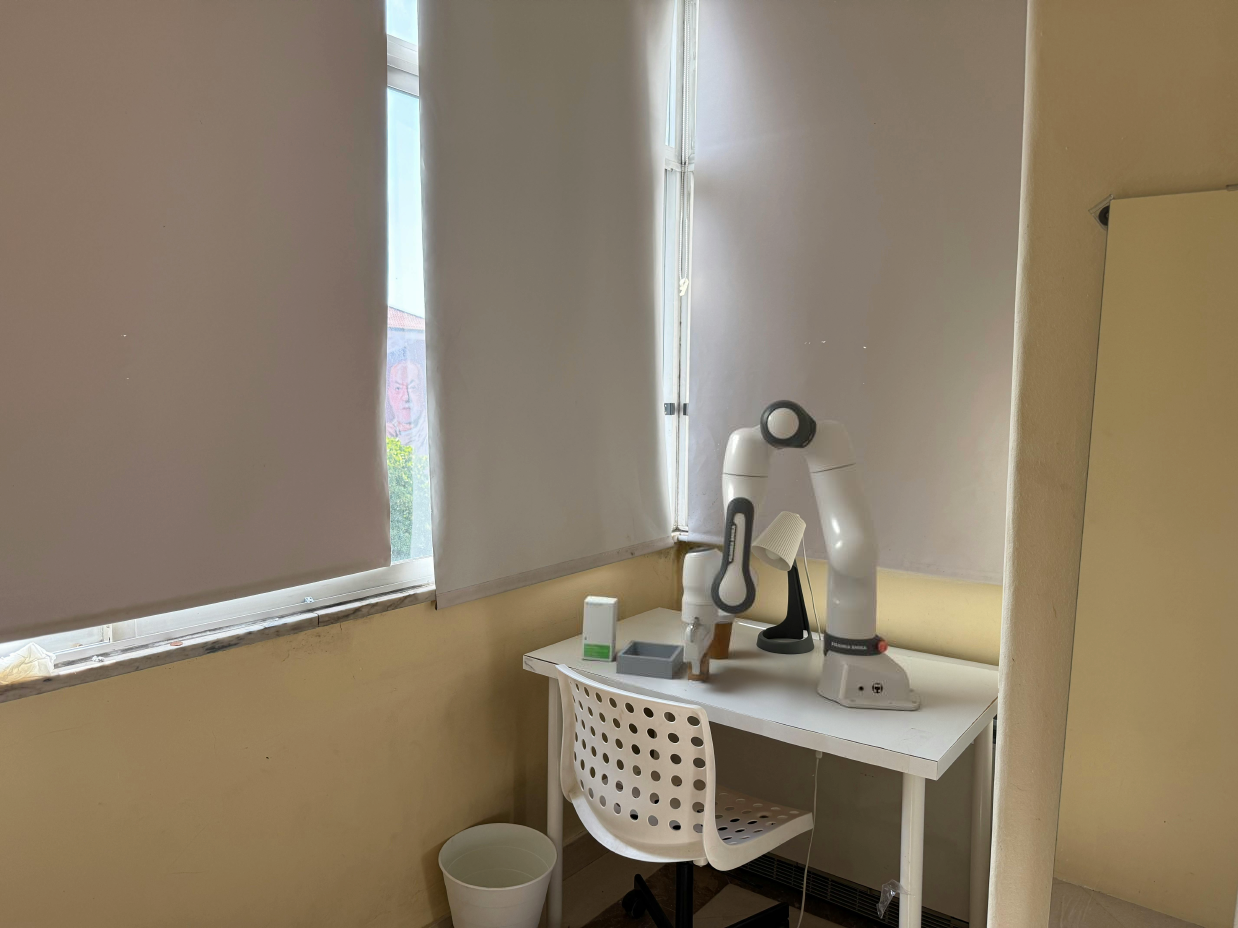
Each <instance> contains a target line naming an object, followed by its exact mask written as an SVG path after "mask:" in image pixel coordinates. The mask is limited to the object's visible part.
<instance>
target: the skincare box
mask: <svg viewBox="0 0 1238 928" xmlns="http://www.w3.org/2000/svg"><path fill="white" fill-rule="evenodd" d="M618 602H619V599H618V598H613V597H605V596H595V595H594V596H593V595H589V596H587V597H586V598H585V599H584V602H583V603H584V604H583V605H584V606H583V622H582V626H583V627H582V643H581V645H582V647H581V660H588V661H589V660H590V661H601V662H611V663H612V661H613V660H614V657H616V656H615V655H616V642H617V624H618Z"/></svg>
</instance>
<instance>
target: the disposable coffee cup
mask: <svg viewBox="0 0 1238 928" xmlns="http://www.w3.org/2000/svg"><path fill="white" fill-rule="evenodd" d="M735 619H736V616H735V614H729V613H726V612H724V611H722V610H720V609H719V608H718V622H717V623H715V630H714V637H713V641H712V642H711V644H710V645H709V647H708V648H707V652H708V653H710V659H712V660H725V659H726V658H728V657H729V652H730V651H729V650H730V645H731V637H732V630H733V624H734V621H735Z"/></svg>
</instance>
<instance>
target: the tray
mask: <svg viewBox="0 0 1238 928" xmlns="http://www.w3.org/2000/svg"><path fill="white" fill-rule="evenodd" d="M684 661H685V659H684V645H682V644H671V643H662V642H653V641H642V640H635V639H634V640H633V639H632V640H630V642H628V644H626V645H625V646H624V647H623V648H622V649H621V650H620V651H619V652H618V653H617V654H616V663H615V664H616V667H615V670H616V674H621V675H631V676H641V677H648V678H657V679H665V680H672V679H674V677H675V675H676V674H677V672H678V671H679V670H680V668H681V667H682V665H684Z"/></svg>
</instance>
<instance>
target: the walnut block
mask: <svg viewBox="0 0 1238 928" xmlns="http://www.w3.org/2000/svg"><path fill="white" fill-rule="evenodd" d="M710 659H711V658H710V653H708V652H705V653H704V655H703V656H702V658H701V660H700V666H701V671H700V673H699V674H693V673H692V663H691V662H690V661H687V681H689V680H692V681H691V682H698V681H702V682H701V683H707V682H708V680H709V678H710V661H711V660H710Z"/></svg>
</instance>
